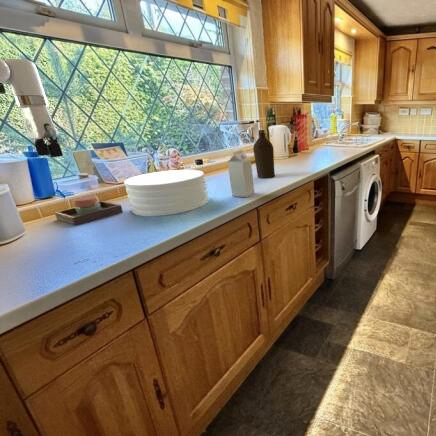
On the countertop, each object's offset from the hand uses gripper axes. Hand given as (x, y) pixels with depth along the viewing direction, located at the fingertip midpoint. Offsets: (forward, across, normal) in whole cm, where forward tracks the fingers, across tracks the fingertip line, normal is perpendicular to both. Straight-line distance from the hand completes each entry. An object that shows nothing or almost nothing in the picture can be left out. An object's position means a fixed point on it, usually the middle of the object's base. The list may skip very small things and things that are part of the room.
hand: (50, 155), depth 103 cm
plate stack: (+22, +21, +26) cm, 40 cm away
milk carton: (+22, +38, +49) cm, 66 cm away
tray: (+22, +5, +4) cm, 23 cm away
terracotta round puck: (+18, +5, +4) cm, 20 cm away
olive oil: (+22, +22, +83) cm, 89 cm away
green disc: (+22, +5, +4) cm, 22 cm away
